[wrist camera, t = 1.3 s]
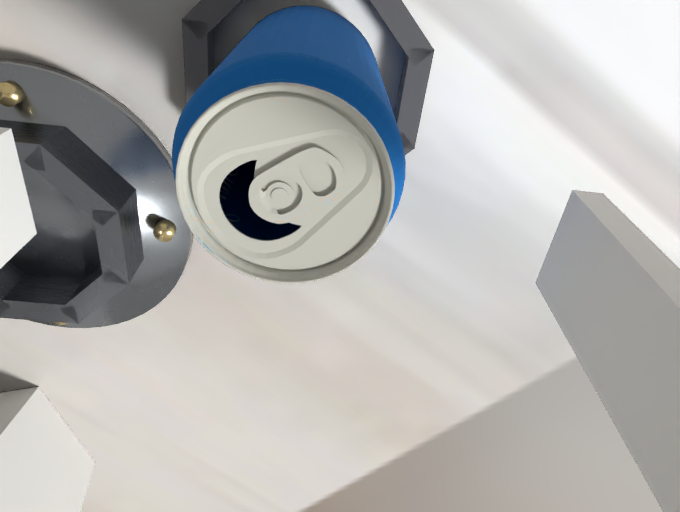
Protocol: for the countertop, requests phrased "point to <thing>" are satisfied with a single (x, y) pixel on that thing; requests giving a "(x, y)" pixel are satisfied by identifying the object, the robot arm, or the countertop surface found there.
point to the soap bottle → (39, 456)
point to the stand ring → (390, 8)
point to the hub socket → (88, 204)
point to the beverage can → (290, 151)
